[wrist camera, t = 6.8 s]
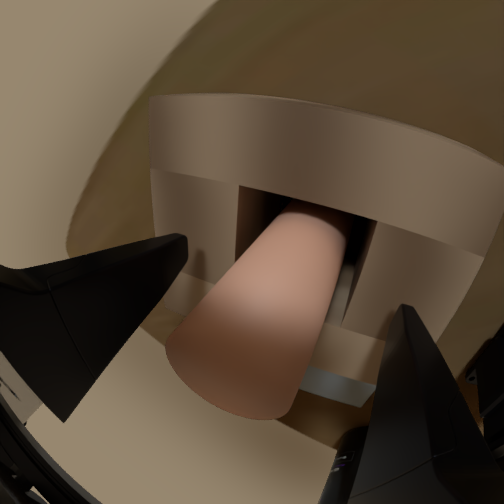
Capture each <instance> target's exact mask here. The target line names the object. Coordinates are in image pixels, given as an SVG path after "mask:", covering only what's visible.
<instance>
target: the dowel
mask: <svg viewBox="0 0 504 504" xmlns="http://www.w3.org/2000/svg"><path fill="white" fill-rule="evenodd" d="M354 218H355V214H352V213H349V212H345V211H342V210H338V209H335V208H331V207H327V206H324V205H320V204H316V203H312V202H308V201H304V200H300V199H296V198H293V199H292V201H291V202H290V203H289V204H288V205H287V206H286V207H285V208H284V209H283V210H282V212H281V213H280V214H279V215H278V216H277V217H276V218H275V219H274V220H273V221H272V223H271V224H270V225H269V226H268V227H267V228H266V229H265V230H264V231H263V233H262V234H261V235H260V236H259V237H258V238H257V239H256V240H255V241H254V242H253V244H252V245H251V246H250V247H249V248H248V249H247V250H246V251H245V252H244V254H243V255H242V256H241V257H240V258H239V259H238V260H237V261H236V262H235V263H234V265H233V266H232V267H231V268H230V269H229V270H228V271H227V272H226V273H225V275H224V276H223V277H222V278H221V279H220V280H219V281H218V282H217V283H216V285H215V286H214V287H213V288H212V289H211V290H210V291H209V292H208V293H207V295H206V296H205V297H204V298H203V299H202V300H201V301H200V302H199V303H198V305H197V306H196V307H195V308H194V309H193V310H192V311H191V312H190V313H189V315H188V316H187V317H186V318H185V319H184V320H183V321H182V322H181V324H180V325H179V326H178V327H177V328H176V329H175V330H174V331H173V332H172V334H171V335H170V336H169V337H168V339H167V341H166V345H165V349H166V355H167V358H168V360H169V362H170V364H171V366H172V368H173V369H174V371H175V372H176V374H177V375H178V376H179V377H180V378H181V380H182V381H183V382H184V383H185V384H186V385H187V386H188V387H190V388H191V389H192V390H193V391H194V392H195V393H197V394H198V395H199V396H201V397H202V398H203V399H205V400H206V401H208V402H210V403H211V404H213V405H215V406H216V407H219V408H220V409H223V410H225V411H227V412H229V413H232V414H235V415H238V416H241V417H245V418H250V419H257V420H272V419H277V418H280V417H282V416H284V415H285V414H286V413H288V411H289V410H290V408H291V406H292V403H293V401H294V399H295V396H296V394H297V392H298V389H299V387H300V384H301V382H302V379H303V377H304V374H305V372H306V369H307V367H308V364H309V361H310V359H311V356H312V354H313V351H314V348H315V345H316V343H317V340H318V337H319V334H320V332H321V329H322V326H323V323H324V320H325V317H326V314H327V311H328V308H329V305H330V302H331V299H332V296H333V293H334V289H335V286H336V283H337V280H338V276H339V273H340V270H341V266H342V263H343V259H344V256H345V252H346V249H347V245H348V241H349V237H350V234H351V230H352V226H353V222H354Z"/></svg>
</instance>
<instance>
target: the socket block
mask: <svg viewBox="0 0 504 504" xmlns="http://www.w3.org/2000/svg"><path fill="white" fill-rule="evenodd" d="M149 153H150V175H151V191H152V205H153V216H154V227H155V236H156V237H159V236H163V235H168V234H172V233H180V234H183V235H185V236H187V238H188V253H189V257H188V261H187V263H186V264H185V266H184V267H183V269H182V270H181V272H180V273H179V275H178V276H177V278H176V279H175V280H174V282H173V283H172V285H171V286H170V288H169V289H168V291H167V292H166V294H165V295H164V302H165V308H167V309H169V310H171V311H174V312H176V313H178V314H180V315H182V316H184V317H187V316H188V315H189V313H190V312H191V311H192V310H193V309H194V308H195V307H196V306H197V305H198V303H199V302H200V301H201V300H202V299H203V298H204V297H205V296H206V295H207V293H208V292H209V291H210V290H211V289H212V288H213V287H214V286H215V285H216V283H217V282H218V281H219V280H220V279H221V278H222V277H223V276H224V275H225V273H226V272H227V271H228V270H229V269H230V268H231V267H232V266H233V265H234V263H235V262H236V261H237V260H238V259H239V258H240V257H241V256H242V255H243V254H244V252H245V251H246V250H247V249H248V248H249V247H250V246H251V245H252V244H253V242H254V241H255V240H256V239H257V238H258V237H259V236H260V235H261V234H262V233H263V231H264V230H265V229H266V228H267V227H268V226H269V225H270V224H271V223H272V221H273V220H274V219H275V218H276V217H277V216H278V215H279V212H280V204H281V197H282V195H284V196H288V197H292V198H296V199H300V200H304V201H308V202H312V203H316V204H320V205H324V206H327V207H331V208H335V209H338V210H342V211H345V212H349V213H352V214H356V215H359V216H363V217H366V218H369V219H368V223H367V226H366V230H365V233H364V237H363V240H362V243H361V247H360V250H359V253H358V256H357V259H356V260H352V259H349V258H346V257H344V259H343V263H342V266H341V270H340V273H339V276H338V280H337V283H336V286H335V289H334V293H333V296H332V299H331V302H330V305H329V308H328V311H327V314H326V317H325V320H324V323H323V326H322V329H321V332H320V334H319V337H318V340H317V343H316V345H315V348H314V351H313V354H312V356H311V359H310V361H309V364H308V365H309V366H312V367H315V368H318V369H322V370H325V371H328V372H331V373H334V374H337V375H341V376H344V377H347V378H351V379H354V380H358V381H361V382H365V383H369V384H372V385H376V384H377V377H378V372H379V367H380V363H381V359H382V355H383V351H384V347H385V342H386V338H387V333H388V328H389V325H390V323H391V321H392V319H393V317H394V315H395V313H396V311H397V309H398V307H399V306H400V304H402V303H404V304H407V305H411V306H413V307H414V308H415V310H416V311H417V313H418V315H419V316H420V318H421V320H422V321H423V323H424V324H425V326H426V328H427V330H428V331H429V333H430V335H431V336H432V338H433V340H434V342H435V343H436V341H437V340H438V338H439V337H440V335H441V334H442V332H443V331H444V329H445V328H446V326H447V325H448V323H449V322H450V320H451V319H452V317H453V315H454V314H455V312H456V310H457V309H458V307H459V305H460V304H461V302H462V300H463V298H464V297H465V295H466V293H467V291H468V289H469V288H470V286H471V284H472V282H473V280H474V278H475V276H476V274H477V272H478V270H479V268H480V266H481V264H482V262H483V260H484V258H485V256H486V254H487V251H488V249H489V247H490V245H491V242H492V240H493V238H494V235H495V233H496V230H497V228H498V225H499V223H500V220H501V217H502V215H503V212H504V166H503V165H501V164H500V163H498V162H496V161H494V160H493V159H491V158H489V157H487V156H486V155H484V154H482V153H480V152H478V151H476V150H474V149H473V148H471V147H469V146H466V145H464V144H462V143H459V142H457V141H454V140H452V139H449V138H446V137H444V136H441V135H438V134H436V133H433V132H430V131H427V130H424V129H421V128H418V127H415V126H412V125H409V124H406V123H402V122H399V121H395V120H392V119H388V118H385V117H381V116H377V115H373V114H369V113H365V112H361V111H357V110H352V109H348V108H343V107H338V106H333V105H328V104H322V103H316V102H310V101H304V100H297V99H289V98H281V97H273V96H263V95H251V94H236V93H191V94H174V95H162V96H151V97H149Z"/></svg>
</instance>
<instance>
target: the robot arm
mask: <svg viewBox="0 0 504 504" xmlns="http://www.w3.org/2000/svg"><path fill="white" fill-rule="evenodd" d="M188 257H189V253H188V238H187V236H185V235H183V234H180V233H172V234H168V235H163V236H159V237H155V238H150V239H146V240H142V241H138V242H133V243H129V244H125V245H121V246H117V247H113V248H109V249H105V250H101V251H97V252H93V253H89V254H87V255H82V256H78V257H74V258H70V259H66V260H62V261H57V262H53V263H48V264H44V265H38V266H34V267H29V268H24V269H12V268H8V267H5V266H3V265H0V504H47V503H46V502H45V501H44V500H43V499H42V498H41V497H40V496H38V495H37V494H36V493H34V492H33V491H31V490H30V489H31V488H32V486H34V487H35V488H36V489H37V490H38V492H40V494H41V495H42V496H43V497H44V498H45V499H46V500H47V501H48V502H49V503H50V504H102V503H101V502H99V501H98V500H97V499H96V498H94V497H93V496H92V495H91V494H90V493H89V492H87V491H86V490H85V489H84V488H83V487H82V486H81V485H79V484H78V483H77V482H76V481H75V480H74V479H73V478H72V477H71V476H70V475H69V474H67V473H66V472H65V471H64V470H63V469H62V468H61V467H60V466H59V465H58V464H57V463H56V462H55V461H54V460H53V459H52V457H51V456H50V455H49V454H48V453H47V452H46V451H45V450H44V449H43V448H42V447H41V445H40V444H39V443H38V442H37V441H36V440H35V438H34V437H33V436H32V435H31V434H30V432H29V431H28V430H27V429H26V427H25V425H26V421H27V419H28V418H29V417H30V416H31V415H32V414H33V413H34V412H35V411H36V410H37V409H38V408H39V407H40V406H41V405H42V404H43V403H44V404H45V405H46V406H47V407H48V408H49V409H50V410H51V411H52V412H53V413H54V414H55V415H56V416H57V417H58V418H59V419H60V420H61V421H62V422H63V423H64V422H65V421H66V420H67V419H68V418H69V416H70V415H71V414H72V412H73V411H74V409H75V408H76V407H77V405H78V404H79V403H80V401H81V400H82V398H83V397H84V396H85V395H86V393H87V392H88V391H89V389H90V388H91V387H92V385H93V384H94V383H95V381H96V380H97V379H98V377H99V376H100V375H101V373H102V372H103V371H104V369H105V368H106V367H107V366H108V364H109V363H110V362H111V360H112V359H113V358H114V357H115V355H116V354H117V353H118V352H119V350H120V349H121V348H122V347H123V345H124V344H125V343H126V341H127V340H128V339H129V338H130V336H131V335H132V334H133V333H134V331H135V330H136V329H137V328H138V327H139V325H140V324H141V323H142V322H143V320H144V319H145V318H146V317H147V316H148V314H149V313H150V312H151V311H152V309H153V308H154V307H155V306H156V305H157V303H158V302H159V301H160V300H161V299H162V297H163V296H164V295H165V294H166V292H167V291H168V289H169V288H170V286H171V285H172V283H173V282H174V280H175V279H176V278H177V276H178V275H179V273H180V272H181V270H182V269H183V267H184V266H185V264H186V263H187V261H188ZM465 379H466V382H467V383H471V384H476V385H477V386H478V397H479V412H480V417H481V418H483V425H484V437H483V435H482V433H481V431H480V429H479V427H478V425H477V424H476V422H475V420H474V418H473V416H472V414H471V412H470V410H469V408H468V406H467V403H466V401H465V399H464V397H463V395H462V393H461V391H459V387H458V385H457V383H456V381H455V379H454V377H453V375H452V373H451V371H450V369H449V367H448V365H447V363H446V362H445V360H444V358H443V356H442V354H441V352H440V351H439V349H438V347H437V345H436V343H435V342H434V340H433V338H432V336H431V335H430V333H429V331H428V330H427V328H426V326H425V324H424V323H423V321H422V320H421V318H420V316H419V315H418V313H417V311H416V310H415V308H414V307H413V306H411V305H407V304H404V303H402V304H400V306H399V307H398V309H397V311H396V313H395V315H394V317H393V319H392V321H391V323H390V325H389V328H388V333H387V338H386V342H385V347H384V351H383V355H382V359H381V363H380V367H379V372H378V377H377V384H376V390H375V396H374V402H373V408H372V413H371V418H370V423H369V428H368V432H367V437H366V441H365V445H364V449H363V453H362V457H361V461H360V465H359V468H358V472H357V475H356V479H355V482H354V485H353V488H352V491H351V494H350V498H349V500H348V503H347V504H504V326H503V328H502V329H501V330H500V332H499V333H498V335H497V336H496V337H495V339H494V340H493V341H492V343H491V344H490V345H489V347H488V348H487V349H486V351H485V352H484V353H483V354H482V356H481V357H480V358H479V359H478V360H477V362H476V363H475V364H474V365H473V366H472V368H471V369H470V370H469V371H468V372H467V373H466V375H465Z"/></svg>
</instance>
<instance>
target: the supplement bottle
mask: <svg viewBox="0 0 504 504" xmlns="http://www.w3.org/2000/svg"><path fill="white" fill-rule="evenodd" d="M368 428H369V427H362V428H357V429H353V430H351V431H349V432H347V433H346V434H345V435H344V436H343V437H342V439H341V442H340V445H339V448H338V450H337V454H336V456H335V460H334V463H333V465H332V468H331V471H330V474H329V476H328V479H327V482H326V484H325V487H324V489H323V492H322V494H321V497H320V499H319V502H318V504H347V503H348V500H349V498H350V494H351V491H352V488H353V485H354V482H355V479H356V475H357V472H358V468H359V465H360V461H361V457H362V453H363V449H364V445H365V441H366V437H367V432H368Z"/></svg>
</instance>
